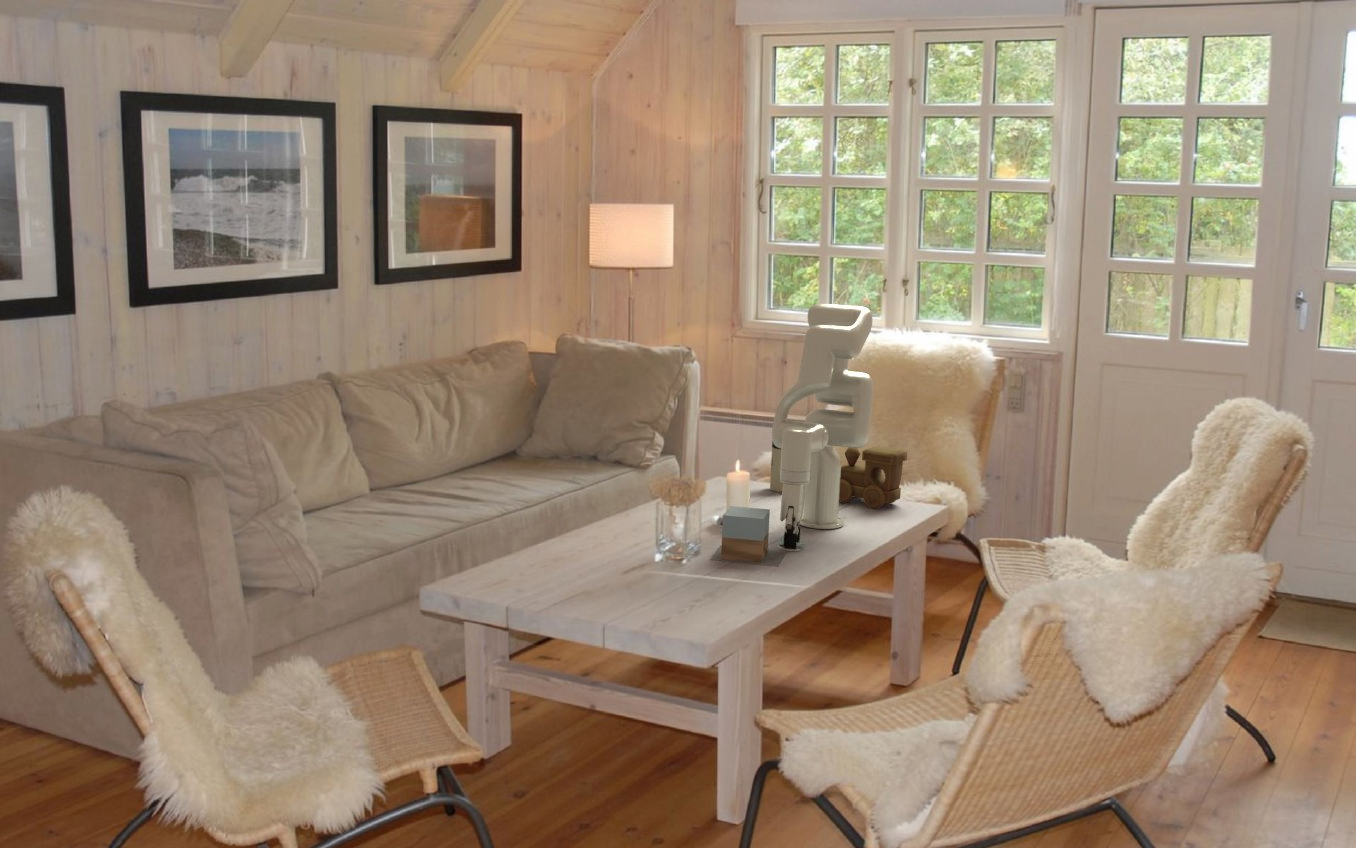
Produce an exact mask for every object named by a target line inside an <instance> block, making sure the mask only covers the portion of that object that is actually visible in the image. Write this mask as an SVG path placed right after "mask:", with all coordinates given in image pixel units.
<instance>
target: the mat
mask: <svg viewBox="0 0 1356 848" xmlns="http://www.w3.org/2000/svg"><path fill="white" fill-rule="evenodd" d="M721 548H722V544H721V545H719V547H718V548H717V549H716V550H715V552H714V553H713V554H712V556H711V557H710V559H709V561H712V562H713V561H715V562H723V563H724V562H726V563H735V564H744V565H745V564H746V565H758V566H764V567H766V566H767V567H774V568H776V567H777V568H779V566H780V564H781V563H782V562H783V559H784V558H785V556H786V554H787V551H786V550H783V551H782V550H775V549H773V550H772V549H771V550H770V549H768V552H767V554H766V556H765V557H764V559H763V561H762V562H761V563H759V562H749V561H739V560H728V559H721Z"/></svg>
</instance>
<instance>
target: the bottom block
mask: <svg viewBox="0 0 1356 848" xmlns="http://www.w3.org/2000/svg"><path fill="white" fill-rule="evenodd" d="M769 531H770V530H769ZM769 531H768V533H767V534H766V536H765V537H764V539H763V541H758V540H748V539H737V538H726V537H722V536H721V546H722V548H721V559H728V560H739V561H749V562H759V563H761V562H762V561H763V559H764V557H765V556H766V554H767V552H768V550H769V537H770V536H769V535H770V533H769Z"/></svg>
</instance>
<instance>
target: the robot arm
mask: <svg viewBox="0 0 1356 848" xmlns="http://www.w3.org/2000/svg"><path fill="white" fill-rule="evenodd" d="M807 324H808V329H807V330H806V333H805V335H804V341H803V348H802V352H801V353H802V354H801V360H800V366H799V372H798V377H797V380H796V382H795V383H794V384H793V385H791V387H790V388H788V389H787V391H785V393H784V394H783V395H782V397H781V398H780V399H779V401H778V403H777V406H776V409H775V412H774V418H773V423H772V430H771V440H772V441H773V443H774V445H775V446H776V447H778V448H781V449H782V451H781V471H780V481H781V482H782V483H784V484H783V490H782V493H781V504H780V515H779V520H780V522H783V521H785V526H784V532H783V537H784V545H783V546H782V547H784V548H787V549H796V544H797V543H801V541H800V540H801V526H802V527H806V528H808V529H810V528H811V529H819V530H820V529H821V530H833V529H839V528H841V527H843V526H844V523H845V522H844V519H842V518H841V517H839V510H840V509H839V508H840V505H839V504H840V502H839V493H840V476H841V467H842V460H841V457H840V455H839V452H838V451H837V450H836V448H835V447H841V448H843V447H844V448H848V447H851V448H857V449H861V448H864V447H865V446H866V445H867V444H868V442H869V438H870V434H871V433H870V431H871V423H872V412H873V402H874V389H875V388H874V382H873V379H872V377H871V375H869V374H868V373H866V372H862V371H851V370H849V360H855V359H856V358H857V357H858V356H859V355H860V354H861V352H862V349H863V347H864V345H865V343H866V342H867V339H868V338H869V336H870V333H871V331H872V327H873V314H872V312H871V310H870V309H869V308H867V307H866V306H860V305H851V304H850V305H849V304H837V303H818V304H813V305H812V306H810V307H809V308H808V310H807ZM811 396H814V398H815V401H817V402H818V403H821V404H824V405H831V406H837V407H838V406H839V407H850V408H853V411H847V410H846V411H843V410H839V409H838V410H836V409H825V408H819V409H814V410H812V411H810V412H809V413H807V415H806V416H805V419H804V421H800V420H789V419H788V417H789V413H790V411H791V409H792V408H793V406H794V405H795V404H797V402H799V401H801V400H803V399H806V398H808V397H811ZM772 441H771V442H772ZM793 524H794V526H793ZM796 526H797V527H798V530H799V532H798V535H797V533H796Z"/></svg>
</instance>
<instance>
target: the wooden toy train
mask: <svg viewBox="0 0 1356 848" xmlns="http://www.w3.org/2000/svg"><path fill="white" fill-rule="evenodd" d="M844 455H845V456H844V457H845V458H846V462H847V464H844V465H841V476H840V493H839V504H840V503H841V504H847V503H849V501H851V499H852V498H854V499H855V498H856V499H858V498H859V499H862V500H863V503H864V504H865V505H866V506H867V507H868V508H870V509H874V510H878V509H879V508H881V507H883V506H884V504H893V503H895V502H896V501H898V500H900V499H901V490H902V488H901V487H900V486H901V485H900V484H901V479H902V475H903V463H904V462H905V461H907V458H908V451H907V450H903V449H900V448H892V447H885V446H872V447H869V448H866V449H864V450H863V451H862V456H861V452H860V451H859V448H851V447H847V448H846V450H845V452H844ZM860 457H861V460H862V461H863V462H864V461H865V462H864V465H856V464H857V461H858V460H859V458H860ZM882 471H883V474H884V476H883V474H882ZM884 477H885V478H884Z"/></svg>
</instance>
